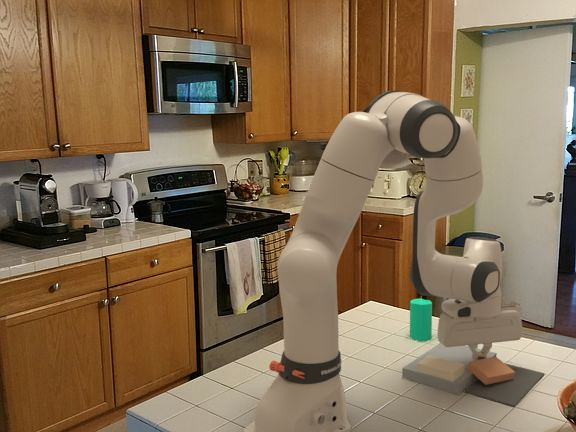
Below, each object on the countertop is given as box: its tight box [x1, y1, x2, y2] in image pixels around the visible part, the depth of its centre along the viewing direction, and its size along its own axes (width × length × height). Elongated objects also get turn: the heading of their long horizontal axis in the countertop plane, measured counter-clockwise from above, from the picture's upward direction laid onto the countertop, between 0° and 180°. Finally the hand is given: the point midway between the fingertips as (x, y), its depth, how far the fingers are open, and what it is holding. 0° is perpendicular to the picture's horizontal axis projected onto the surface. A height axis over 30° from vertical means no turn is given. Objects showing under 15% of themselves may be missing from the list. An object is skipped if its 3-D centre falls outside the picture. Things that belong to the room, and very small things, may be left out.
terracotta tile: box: [467, 356, 515, 385], centre depth 132 cm, size 9×6×2 cm, turn 120°
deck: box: [401, 342, 498, 396], centre depth 139 cm, size 22×14×2 cm, turn 139°
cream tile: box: [417, 355, 465, 381], centre depth 132 cm, size 9×6×2 cm, turn 49°
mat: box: [463, 362, 545, 408], centre depth 131 cm, size 20×11×1 cm, turn 139°
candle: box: [409, 297, 433, 342], centre depth 160 cm, size 6×6×12 cm
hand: (479, 360), depth 136 cm, fingers closed
